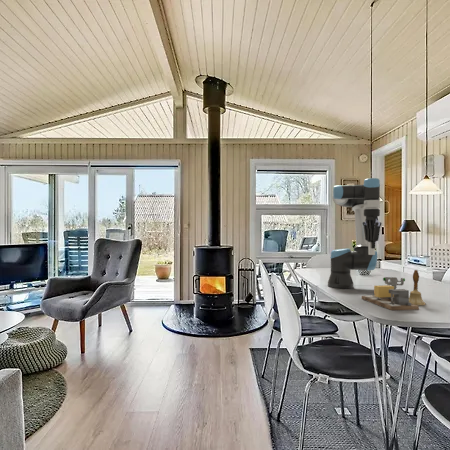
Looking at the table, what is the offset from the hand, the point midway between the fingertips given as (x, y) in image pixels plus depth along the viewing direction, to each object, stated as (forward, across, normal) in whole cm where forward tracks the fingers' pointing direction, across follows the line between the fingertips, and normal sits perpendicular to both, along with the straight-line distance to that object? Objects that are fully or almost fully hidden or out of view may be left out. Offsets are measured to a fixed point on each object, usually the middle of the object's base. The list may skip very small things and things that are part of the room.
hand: (371, 254), depth 168 cm
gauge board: (+22, +13, 0) cm, 26 cm away
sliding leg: (+20, +11, 0) cm, 22 cm away
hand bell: (+23, +14, +13) cm, 30 cm away
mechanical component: (+23, -2, +14) cm, 27 cm away
